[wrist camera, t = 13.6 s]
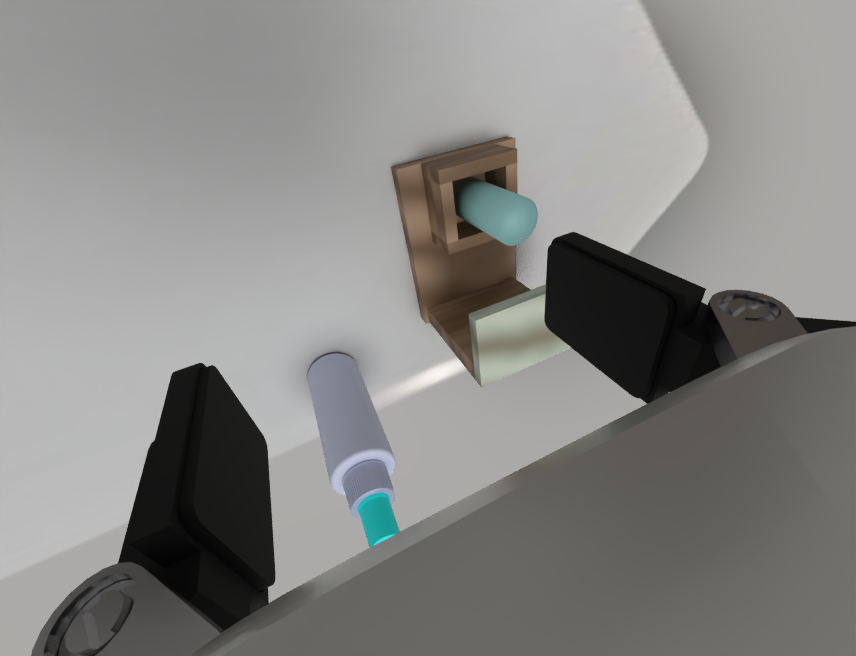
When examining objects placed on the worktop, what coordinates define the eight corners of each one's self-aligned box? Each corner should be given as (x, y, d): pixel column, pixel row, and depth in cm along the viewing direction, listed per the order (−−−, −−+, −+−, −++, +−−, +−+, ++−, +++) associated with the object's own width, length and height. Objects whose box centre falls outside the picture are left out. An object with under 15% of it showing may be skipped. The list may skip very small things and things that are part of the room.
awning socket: (391, 167, 35) (458, 202, 24) (506, 136, 38) (613, 156, 27) (421, 317, 46) (476, 389, 35) (509, 284, 49) (586, 341, 38)
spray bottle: (306, 393, 45) (344, 579, 28) (307, 353, 42) (349, 533, 25) (355, 387, 47) (416, 554, 30) (358, 349, 44) (429, 509, 27)
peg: (441, 179, 36) (495, 204, 28) (477, 169, 37) (538, 191, 29) (446, 218, 38) (497, 251, 31) (479, 208, 39) (536, 237, 32)
